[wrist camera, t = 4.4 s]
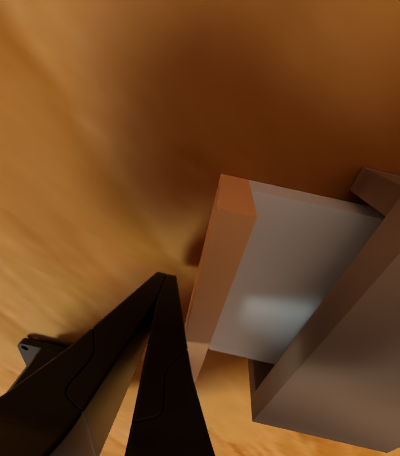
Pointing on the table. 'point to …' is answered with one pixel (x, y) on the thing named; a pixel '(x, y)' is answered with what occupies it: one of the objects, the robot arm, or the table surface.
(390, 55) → the table surface
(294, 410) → the taupe rectangular slab
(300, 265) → the plate
